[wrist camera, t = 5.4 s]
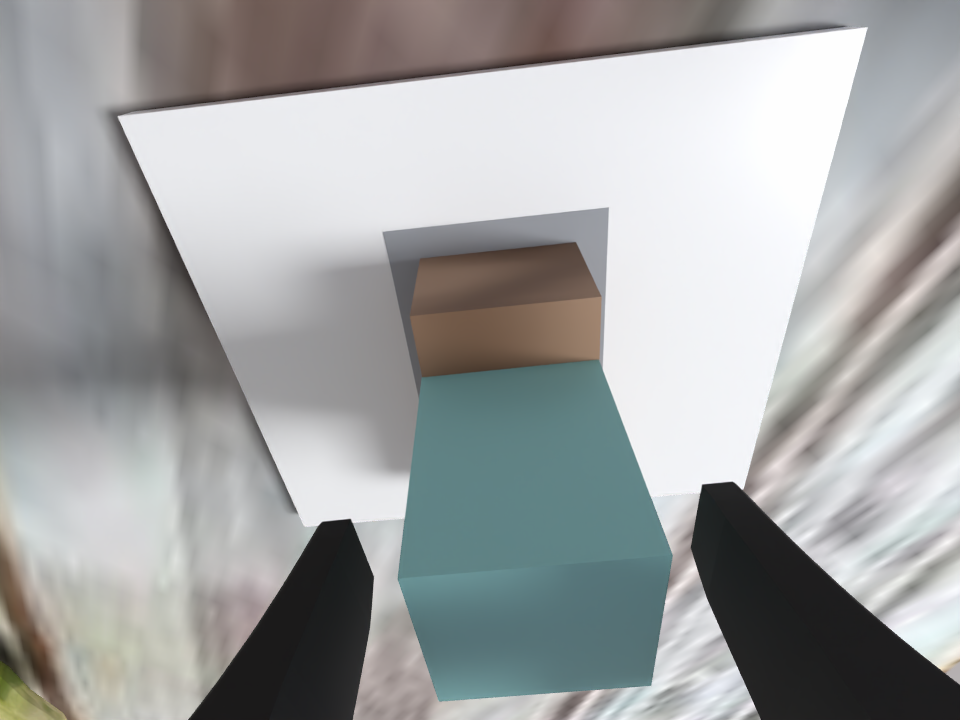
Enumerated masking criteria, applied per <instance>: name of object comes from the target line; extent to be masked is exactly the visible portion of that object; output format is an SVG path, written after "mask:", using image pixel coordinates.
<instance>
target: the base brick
mask: <svg viewBox="0 0 960 720" xmlns="http://www.w3.org/2000/svg"><path fill="white" fill-rule="evenodd" d="M601 300H602V296H601V294H600V292H599V290H598V288H597V286H596V284H595V282H594V279H593V277H592V275H591V273H590V271H589V269H588V267H587V264H586V262H585V260H584V258H583V256H582V254H581V252H580V249H579V247H578V245H577V243H576V242H573V243H563V244H554V245H544V246H535V247H525V248H516V249H506V250H497V251H487V252H478V253H468V254H459V255H450V256H440V257H431V258H421V259H420V262H419V267H418V273H417V278H416V284H415V289H414V295H413V300H412V306H411V311H410V320H411V325H412V330H413V335H414V340H415V345H416V350H417V355H418V359H419V364H420V369H421V374H422V377H432V376H442V375H451V374H461V373H471V372H481V371H491V370H501V369H511V368H521V367H530V366H540V365H550V364H560V363H570V362H580V361H590V360H600V330H601Z"/></svg>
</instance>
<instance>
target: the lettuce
mask: <svg viewBox="0 0 960 720" xmlns="http://www.w3.org/2000/svg"><path fill="white" fill-rule="evenodd" d="M0 720H67V719H66V717H65V715H64V714H63V713H62V712H61V711H59V710H58V709H57V708H55V707H54V706H53V705H51V704H50V703H48V702H47V701H46V700H44V699H43V698H42V697H40V696H39V695H37V694H36V693H35V692H33V691H32V690H31V689H30V688H29V687H28V686H27V685H26V684H25V683H24V682H23V681H22V680H21V679H20V678H19V677H18V676H17V675H16V674H15V673H14V672H13V670H12V669H11V668H10V667H9V666H7V665H6V664H4V663H3V662H1V661H0Z"/></svg>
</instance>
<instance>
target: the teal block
mask: <svg viewBox="0 0 960 720" xmlns="http://www.w3.org/2000/svg"><path fill="white" fill-rule="evenodd" d="M672 556H673V555H672V552H671V549H670V547H669V544H668V541H667V539H666V536H665V534H664V531H663V528H662V526H661V523H660V520H659V518H658V515H657V512H656V510H655V507H654V504H653V502H652V499H651V496H650V494H649V491H648V488H647V486H646V483H645V480H644V478H643V475H642V472H641V470H640V467H639V465H638V462H637V459H636V457H635V454H634V451H633V449H632V446H631V443H630V441H629V438H628V435H627V433H626V430H625V427H624V425H623V422H622V419H621V417H620V414H619V411H618V409H617V406H616V404H615V401H614V398H613V396H612V393H611V390H610V388H609V385H608V382H607V380H606V377H605V374H604V372H603V369H602V366H601V364H600V361H599V360H590V361H580V362H570V363H560V364H550V365H540V366H530V367H521V368H511V369H501V370H491V371H481V372H471V373H461V374H451V375H442V376H432V377H422V379H421V387H420V395H419V404H418V412H417V421H416V429H415V437H414V446H413V454H412V462H411V471H410V479H409V488H408V496H407V504H406V513H405V521H404V530H403V538H402V546H401V555H400V563H399V572H398V581H399V584H400V587H401V590H402V593H403V596H404V599H405V602H406V605H407V608H408V611H409V614H410V617H411V620H412V623H413V626H414V629H415V632H416V635H417V638H418V640H419V643H420V646H421V649H422V652H423V655H424V658H425V661H426V664H427V667H428V670H429V673H430V676H431V679H432V682H433V685H434V688H435V691H436V694H437V697H438V700H439V701H453V700H466V699H479V698H493V697H506V696H520V695H533V694H546V693H560V692H573V691H587V690H600V689H613V688H627V687H640V686H651V683H652V677H653V671H654V665H655V659H656V653H657V647H658V641H659V635H660V629H661V623H662V617H663V611H664V605H665V599H666V593H667V587H668V581H669V575H670V569H671V562H672Z"/></svg>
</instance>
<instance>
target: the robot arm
mask: <svg viewBox="0 0 960 720" xmlns="http://www.w3.org/2000/svg"><path fill="white" fill-rule="evenodd" d="M691 550H692V553H693V556H694V559H695V563H696V566H697V569H698V572H699V575H700V578H701V581H702V584H703V588H704V591H705V594H706V597H707V599H708V602H709V604H710V606H711V608H712V611H713V613H714V615H715V618H716V620H717V622H718V624H719V627H720V629H721V631H722V633H723V636H724V638H725V640H726V642H727V645H728V647H729V649H730V651H731V653H732V656H733V658H734V660H735V662H736V665H737V667H738V669H739V671H740V674H741V676H742V678H743V680H744V682H745V685H746V687H747V689H748V691H749V694H750V696H751V698H752V700H753V702H754V705H755V707H756V709H757V711H758V714H759V716H760V718H761V720H960V685H959V684H958V683H957V682H955V681H954V680H953V679H952V678H950V677H949V676H948V675H946V674H945V673H944V672H943V671H941V670H940V669H939V668H938V667H936V666H935V665H934V664H932V663H931V662H930V661H929V660H927V659H926V658H925V657H923V656H922V655H921V654H920V653H918V652H917V651H916V650H915V649H914V648H912V647H911V646H910V645H909V644H907V643H906V642H905V641H904V640H903V639H901V638H900V637H899V636H898V635H897V634H895V633H894V632H893V631H892V630H891V629H889V628H888V627H887V626H886V625H885V624H883V623H882V622H881V621H880V620H879V619H878V618H877V617H875V616H874V615H873V614H872V613H871V612H870V611H868V610H867V609H866V608H865V607H864V606H863V605H861V604H860V603H859V602H858V601H857V600H856V599H855V598H854V597H852V596H851V595H850V594H849V593H848V592H847V591H846V590H845V589H843V588H842V587H841V586H840V585H839V584H838V583H837V582H836V581H835V580H834V579H833V578H832V577H830V576H829V575H828V574H827V573H826V572H825V571H824V570H823V569H822V568H821V567H820V566H819V565H818V564H817V563H815V562H814V561H813V560H812V559H811V558H810V557H809V556H808V555H807V554H806V553H805V552H804V551H803V550H802V549H801V548H800V547H799V546H798V545H797V544H795V543H794V542H793V541H792V540H791V539H790V538H789V537H788V536H787V535H786V534H785V533H784V532H783V531H782V530H781V529H780V528H779V527H778V526H777V525H776V524H775V523H774V522H773V521H772V520H771V519H770V518H769V517H768V516H767V515H766V514H765V513H764V512H763V511H762V510H761V509H760V508H759V507H758V506H757V505H756V503H755V502H754V501H753V500H752V499H751V498H750V497H749V496H748V495H747V494H746V493H745V492H744V491H743V490H742V489H741V488H740V487H739V486H738V485H737V484H736V483H734V482H733V481H732V482H722V483H711V484H702V487H701V493H700V499H699V504H698V510H697V516H696V521H695V527H694V533H693V538H692V544H691ZM373 582H374V576H373V573H372V571H371V568H370V566H369V563H368V561H367V558H366V556H365V553H364V551H363V548H362V546H361V543H360V541H359V538H358V536H357V533H356V531H355V528H354V526H353V523H352V521H351V519H343V520H333V521H323V522H321V523H320V525H319V526H318V527H317V529H316V531H315V532H314V534H313V536H312V538H311V539H310V541H309V543H308V544H307V546H306V548H305V549H304V551H303V553H302V554H301V556H300V558H299V559H298V561H297V563H296V564H295V566H294V568H293V569H292V571H291V573H290V574H289V576H288V577H287V579H286V581H285V582H284V584H283V586H282V587H281V589H280V590H279V592H278V593H277V595H276V597H275V598H274V600H273V601H272V603H271V604H270V606H269V607H268V609H267V610H266V612H265V614H264V615H263V617H262V618H261V620H260V621H259V623H258V624H257V626H256V627H255V629H254V630H253V632H252V633H251V635H250V636H249V638H248V639H247V641H246V642H245V643H244V645H243V646H242V648H241V649H240V650H239V652H238V653H237V655H236V656H235V658H234V659H233V660H232V662H231V663H230V665H229V666H228V667H227V669H226V670H225V672H224V673H223V675H222V676H221V677H220V679H219V680H218V681H217V683H216V684H215V685H214V687H213V688H212V689H211V691H210V692H209V693H208V695H207V696H206V697H205V699H204V700H203V701H202V703H201V704H200V705H199V707H198V708H197V709H196V710H195V712H194V713H193V714H192V716H191V717H190V718H189V719H188V720H353V715H354V710H355V704H356V699H357V694H358V689H359V684H360V678H361V673H362V668H363V662H364V657H365V652H366V646H367V641H368V635H369V630H370V621H371V610H372V597H373Z"/></svg>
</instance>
